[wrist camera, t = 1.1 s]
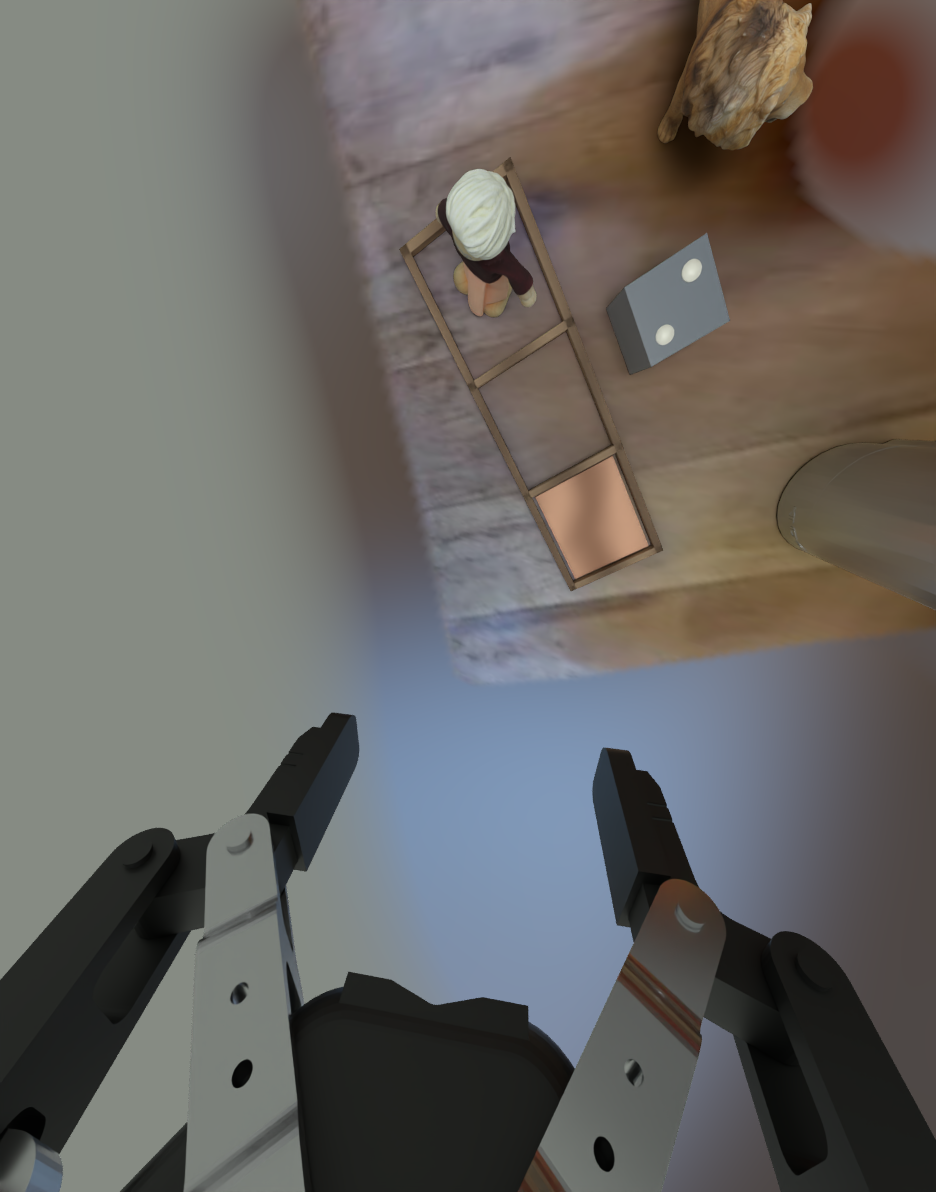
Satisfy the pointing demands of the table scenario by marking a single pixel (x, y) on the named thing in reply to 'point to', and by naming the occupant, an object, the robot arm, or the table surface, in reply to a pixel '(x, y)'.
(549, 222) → the table surface
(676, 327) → the die
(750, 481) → the table surface
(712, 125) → the lion figurine
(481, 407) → the board
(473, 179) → the grandmother figurine
